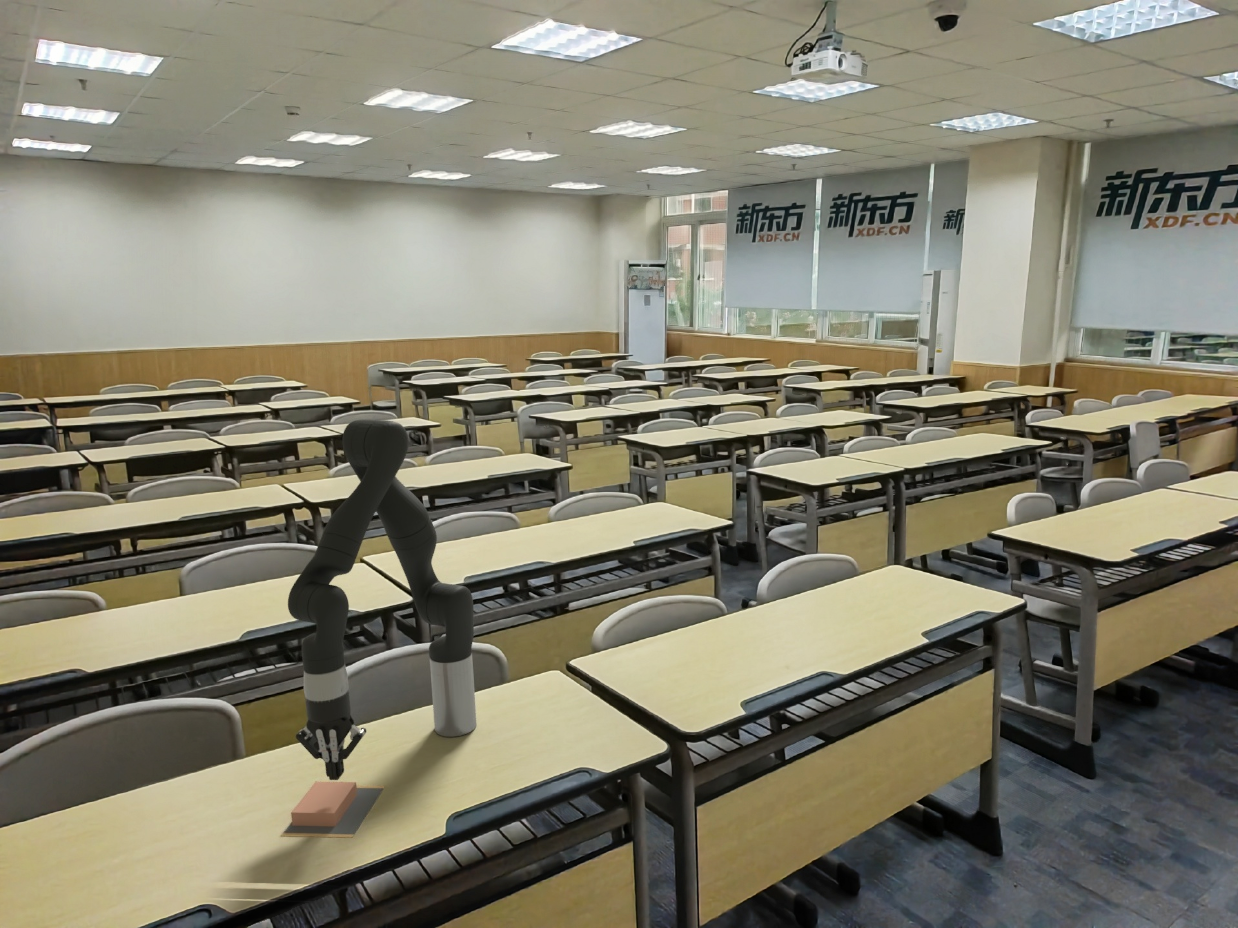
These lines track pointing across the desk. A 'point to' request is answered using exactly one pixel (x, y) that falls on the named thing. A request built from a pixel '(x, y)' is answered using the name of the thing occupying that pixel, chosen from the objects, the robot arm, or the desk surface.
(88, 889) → the desk surface
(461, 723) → the robot arm
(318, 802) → the slab
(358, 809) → the mat
